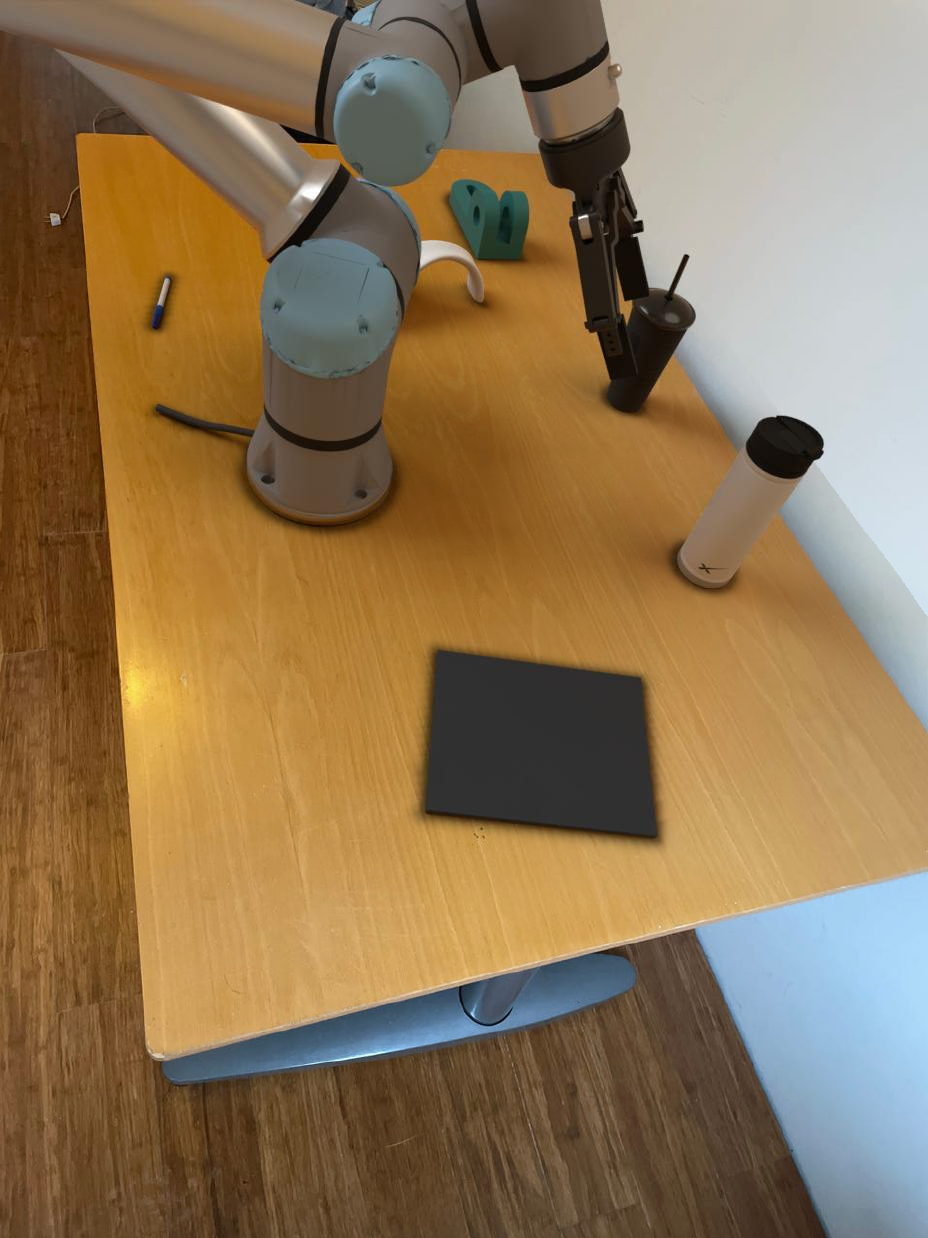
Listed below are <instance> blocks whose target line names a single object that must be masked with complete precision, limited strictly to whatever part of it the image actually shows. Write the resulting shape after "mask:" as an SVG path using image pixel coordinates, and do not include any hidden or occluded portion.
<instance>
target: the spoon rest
mask: <svg viewBox="0 0 928 1238" xmlns="http://www.w3.org/2000/svg"><path fill="white" fill-rule="evenodd" d="M421 244H422V251H421V258H420V272H419V274H420V273H421V272H422V271H424V270H425V269H426V268H428V267H429V266H431V265H433V264H435V263H438V262H444V261H450V262H455V263H457V264H460V265H462V266H464V268H465V269H467V281H466V285H467V289H468V291H469V293H470V295H471V296H472V298H473V300H474V301H475V302H477V303H483V301H484V297H485V285H484V279H483V276H482V274H481V271H480V269H479V268H478V266H477V265H476V262H475V261H474V258H473V256H472V255H471V253H470V252H469V251H468V250H466V249H465V248H464V247H461V246H460V245H458V244H455V243H453V242H449V241H445V240H437V239H436V240H435V239H431V240H430V239H429V240H421Z"/></svg>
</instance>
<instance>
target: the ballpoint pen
mask: <svg viewBox="0 0 928 1238" xmlns="http://www.w3.org/2000/svg"><path fill="white" fill-rule="evenodd" d="M170 284H171V276H170V275H167V276H166V277H165V278H164V281H163V285H162V288H161V292H160V295H159V299H158V301H157V305H156V307H155V310H154V314H153V318H152V321H151V327H152V329H155V330H156V329H157V328H158V327H159V325H160V321H161V317H162V313H163V310H164V305H165V301H166V297H167V294H168V291H169V287H170Z"/></svg>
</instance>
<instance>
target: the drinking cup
mask: <svg viewBox="0 0 928 1238" xmlns="http://www.w3.org/2000/svg"><path fill="white" fill-rule="evenodd" d="M689 259H690V255H689V254H687V253H684V254H683V256H682V258H681V261H680V263H679V265H678V268H677V270H676V272H675V274H674V277H673V279H672V281H671V283H670V286H669V288H668V289H664V288H661V287H649V290H650V295H649V297H644V298H639V299H635V300H631V306H632V307H631V310H630V314H629V317H628V320H627V322H626V325H627V329H628V333H629V337H630V341H631V345H632V349H633V353H634V357H635V361H636V365H637V369H638V374H637V376H632V377H627V378H621V379H615V380H609V385H608V389H607V391H606V400H607V402H608V403H609V404H610V405H611V406H612V407H614V408H615V409H617V410H618V411H621V412H625V413H635V412H638V411H640V410H642V407H643V406H644V404H645V402H646V400H647V399H648V397H649V396H650V394H651V392H652V391H653V389H654V387H655V386H656V383H658V380H659V378H660V376H661V375H662V373H663V372H664V370H665V368H666V367H667V365H668V364H669V362H670V360H671V358H672V356H673V355H674V353H675V352H676V350H677V349H678V346H679V345H680V343H681V341H682V340H683V338H684V337H685V335H686V333H687V331H688V329H690V328H691V327H692V326H693V325H694V324H695V321H696V318H697V313H696V310H695V307H693V305H692V304H691V303H690V302H689V301H688V300H687V299H686V298H685V297H683V296H681V295H680V294H678V293H675V292H676V290H677V287H678V285H679V282H680V281H681V278H682V275H683V273H684V271H685V269H686V267H687V264H688V261H689Z"/></svg>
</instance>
